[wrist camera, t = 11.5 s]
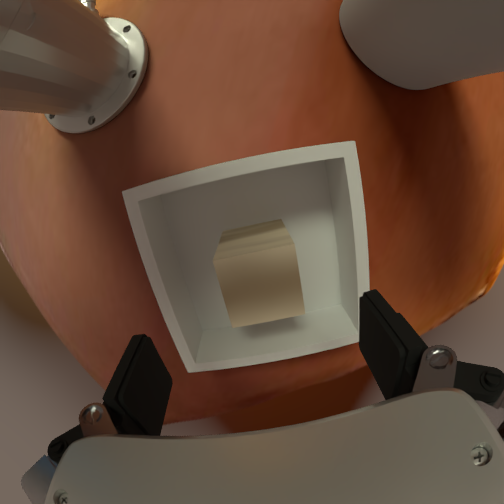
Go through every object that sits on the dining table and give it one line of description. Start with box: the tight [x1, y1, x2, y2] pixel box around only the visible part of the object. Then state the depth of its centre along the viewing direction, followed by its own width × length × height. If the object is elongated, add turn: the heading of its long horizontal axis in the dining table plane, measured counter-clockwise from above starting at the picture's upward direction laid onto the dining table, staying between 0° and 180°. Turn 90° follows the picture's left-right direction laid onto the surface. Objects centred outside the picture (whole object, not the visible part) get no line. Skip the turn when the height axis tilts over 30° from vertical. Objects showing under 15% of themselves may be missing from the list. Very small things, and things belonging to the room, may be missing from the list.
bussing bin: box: [122, 141, 369, 373], centre depth 22 cm, size 16×16×6 cm
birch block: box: [213, 219, 305, 328], centre depth 20 cm, size 5×5×7 cm
